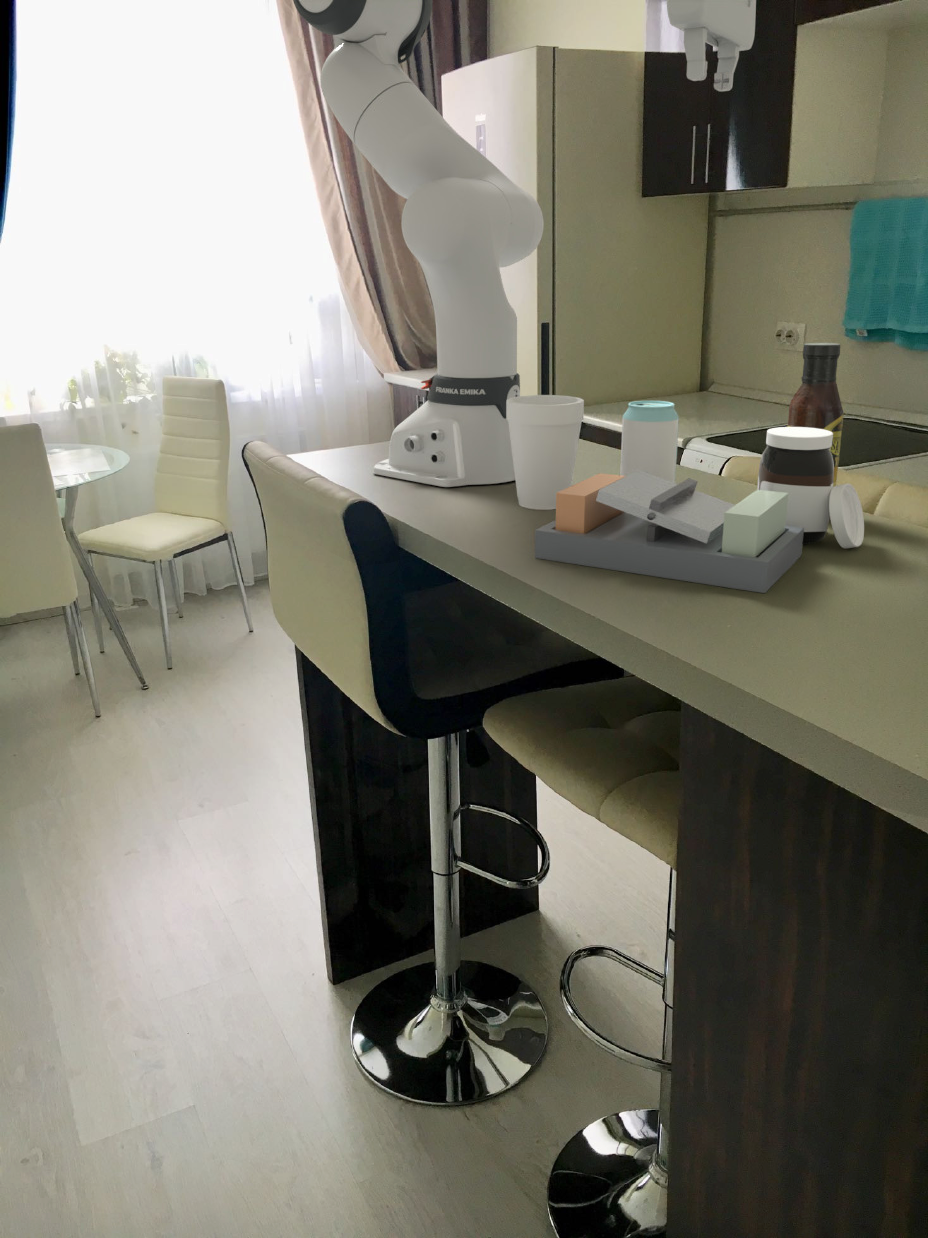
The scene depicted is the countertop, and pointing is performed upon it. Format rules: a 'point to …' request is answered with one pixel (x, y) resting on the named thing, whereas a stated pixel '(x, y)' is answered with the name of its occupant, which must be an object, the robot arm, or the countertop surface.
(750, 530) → the button sage
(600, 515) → the button terracotta
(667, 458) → the can
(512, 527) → the countertop surface
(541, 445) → the foam cup
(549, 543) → the grey rectangular tray
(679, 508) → the rocker
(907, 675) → the countertop surface
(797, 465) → the spread jar
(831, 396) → the sauce bottle
